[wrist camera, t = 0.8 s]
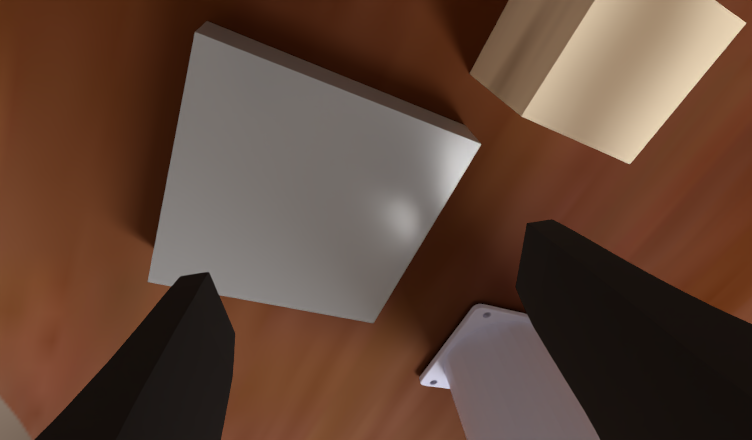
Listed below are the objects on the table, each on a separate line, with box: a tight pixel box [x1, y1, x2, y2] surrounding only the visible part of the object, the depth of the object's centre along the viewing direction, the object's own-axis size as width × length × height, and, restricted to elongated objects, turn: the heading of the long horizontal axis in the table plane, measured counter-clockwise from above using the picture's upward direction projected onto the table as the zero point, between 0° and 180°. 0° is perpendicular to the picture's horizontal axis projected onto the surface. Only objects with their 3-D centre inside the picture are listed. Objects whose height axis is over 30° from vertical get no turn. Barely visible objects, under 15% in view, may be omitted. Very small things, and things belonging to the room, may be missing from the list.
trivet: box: [148, 21, 481, 323], centre depth 18 cm, size 11×11×2 cm
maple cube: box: [469, 0, 746, 164], centre depth 15 cm, size 5×5×5 cm
